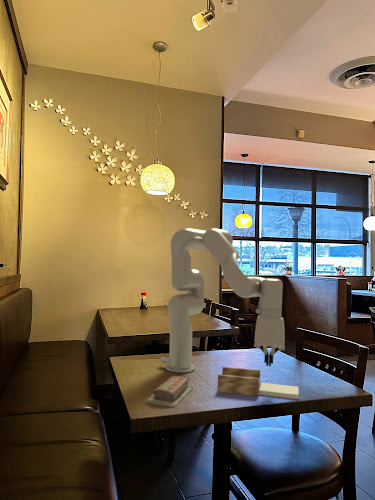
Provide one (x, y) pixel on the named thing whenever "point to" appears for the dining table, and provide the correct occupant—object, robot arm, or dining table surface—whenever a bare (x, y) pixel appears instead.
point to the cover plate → (279, 390)
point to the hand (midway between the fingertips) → (268, 365)
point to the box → (239, 381)
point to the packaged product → (170, 392)
